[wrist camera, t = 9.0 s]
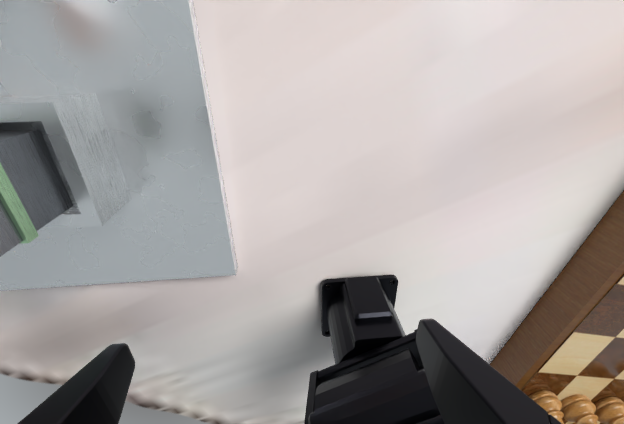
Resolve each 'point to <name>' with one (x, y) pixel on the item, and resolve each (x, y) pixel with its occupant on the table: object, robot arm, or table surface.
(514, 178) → the table surface
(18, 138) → the block
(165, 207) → the base
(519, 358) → the chess set
